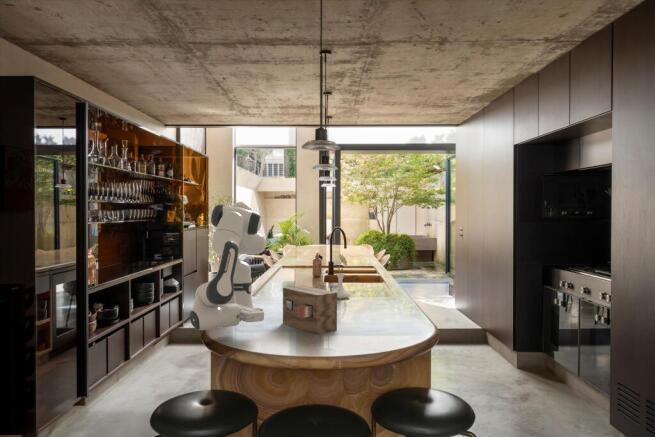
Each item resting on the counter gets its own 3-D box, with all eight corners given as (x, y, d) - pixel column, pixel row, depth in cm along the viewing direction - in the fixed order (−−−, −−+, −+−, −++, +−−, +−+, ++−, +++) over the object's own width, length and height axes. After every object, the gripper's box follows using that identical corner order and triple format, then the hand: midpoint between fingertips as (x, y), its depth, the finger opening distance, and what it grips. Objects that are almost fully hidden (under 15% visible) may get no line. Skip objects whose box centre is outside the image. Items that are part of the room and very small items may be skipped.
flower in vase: (350, 300, 283) (351, 255, 282) (330, 299, 283) (330, 255, 282) (349, 295, 296) (350, 253, 295) (330, 295, 296) (330, 253, 296)
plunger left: (291, 310, 219) (291, 301, 219) (286, 309, 223) (286, 299, 222) (306, 308, 224) (306, 299, 224) (300, 307, 228) (300, 297, 228)
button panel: (316, 334, 207) (316, 295, 206) (282, 323, 225) (283, 287, 225) (336, 330, 214) (337, 292, 213) (302, 320, 232) (302, 285, 232)
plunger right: (303, 317, 206) (303, 307, 206) (297, 315, 209) (297, 305, 209) (318, 315, 211) (318, 305, 211) (312, 313, 214) (312, 303, 214)
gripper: (245, 311, 191) (275, 306, 200) (219, 302, 206) (248, 299, 215) (244, 327, 191) (275, 322, 200) (219, 318, 207) (248, 314, 215)
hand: (261, 310), depth 208 cm, fingers closed
